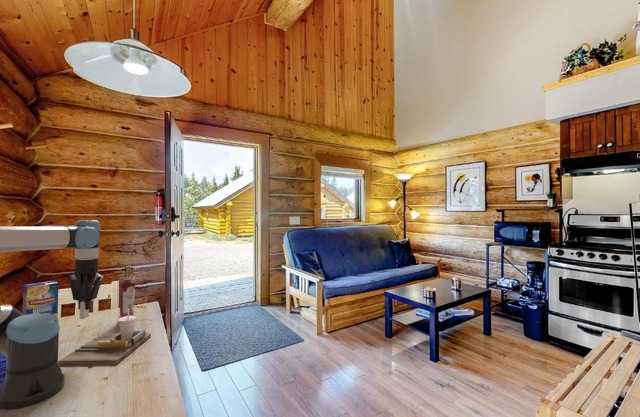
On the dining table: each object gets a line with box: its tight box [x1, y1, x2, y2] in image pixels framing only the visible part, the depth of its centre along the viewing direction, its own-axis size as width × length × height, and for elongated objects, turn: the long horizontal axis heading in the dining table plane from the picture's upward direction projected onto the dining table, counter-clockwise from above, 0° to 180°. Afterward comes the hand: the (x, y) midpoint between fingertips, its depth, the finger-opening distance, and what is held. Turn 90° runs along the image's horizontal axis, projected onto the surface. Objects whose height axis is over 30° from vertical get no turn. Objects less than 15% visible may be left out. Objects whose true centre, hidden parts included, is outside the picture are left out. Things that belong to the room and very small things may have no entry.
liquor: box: [118, 265, 137, 320], centre depth 153 cm, size 7×7×28 cm
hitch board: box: [58, 332, 152, 366], centre depth 121 cm, size 24×21×2 cm
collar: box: [110, 329, 146, 345], centre depth 126 cm, size 9×10×2 cm
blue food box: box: [22, 280, 59, 319], centre depth 138 cm, size 7×11×22 cm, turn 146°
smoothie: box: [117, 308, 137, 342], centre depth 125 cm, size 6×6×14 cm
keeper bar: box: [97, 338, 128, 349], centre depth 118 cm, size 2×11×4 cm, turn 93°
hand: (84, 317), depth 117 cm, fingers closed
